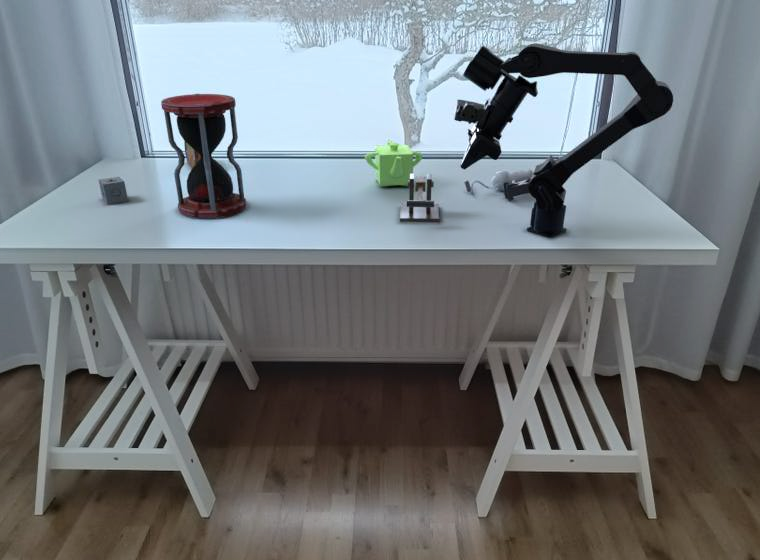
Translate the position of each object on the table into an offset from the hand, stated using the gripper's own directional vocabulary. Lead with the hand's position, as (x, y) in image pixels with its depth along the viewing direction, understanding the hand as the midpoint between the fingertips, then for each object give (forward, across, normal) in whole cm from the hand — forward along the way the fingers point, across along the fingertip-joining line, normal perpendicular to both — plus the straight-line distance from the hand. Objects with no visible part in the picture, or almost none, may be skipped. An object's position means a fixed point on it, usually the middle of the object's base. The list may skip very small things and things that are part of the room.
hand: (462, 168), depth 144 cm
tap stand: (+16, -4, -2) cm, 16 cm away
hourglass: (+41, -6, -45) cm, 61 cm away
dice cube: (+54, -11, -68) cm, 87 cm away
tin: (+52, -44, -57) cm, 89 cm away
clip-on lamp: (+8, -22, +17) cm, 29 cm away
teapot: (+22, -30, -7) cm, 37 cm away
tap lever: (+11, 0, -4) cm, 12 cm away
